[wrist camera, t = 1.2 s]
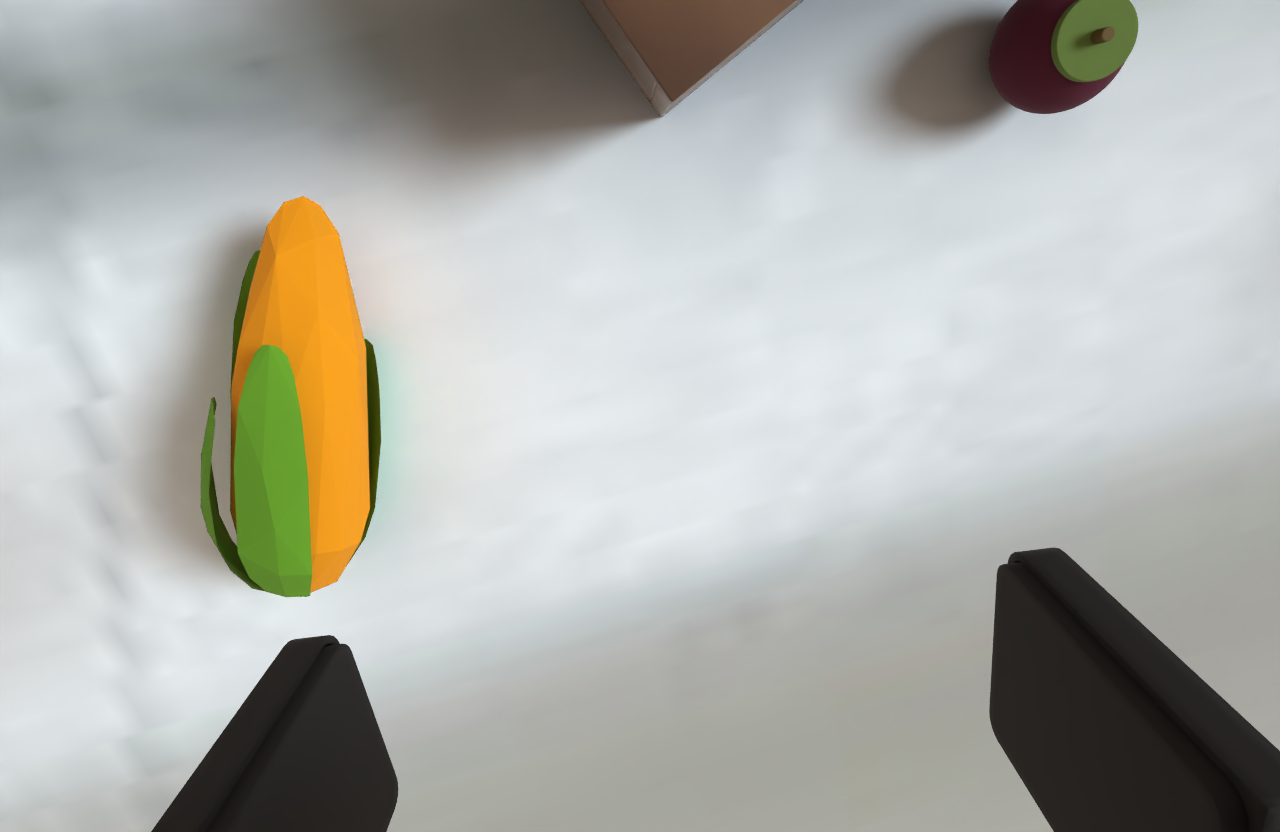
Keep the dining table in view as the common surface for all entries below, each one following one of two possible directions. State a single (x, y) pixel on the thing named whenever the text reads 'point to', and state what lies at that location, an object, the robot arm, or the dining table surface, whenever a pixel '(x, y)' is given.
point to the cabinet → (681, 39)
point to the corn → (297, 414)
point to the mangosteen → (1060, 51)
